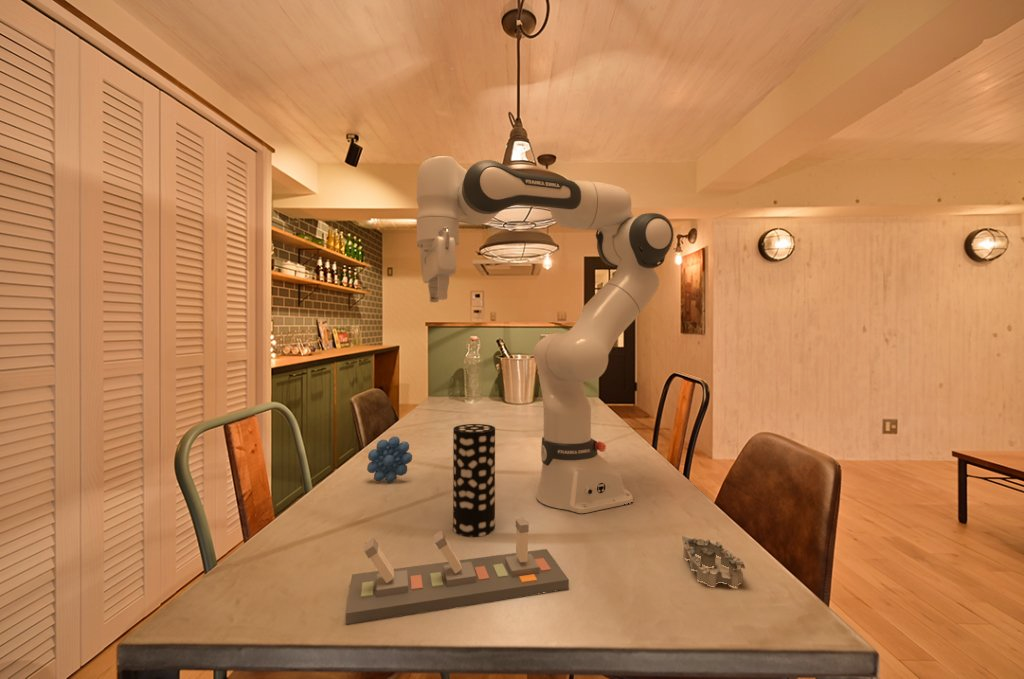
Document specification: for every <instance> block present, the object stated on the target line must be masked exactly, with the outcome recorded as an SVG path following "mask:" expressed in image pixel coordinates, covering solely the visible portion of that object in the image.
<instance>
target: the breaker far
mask: <svg viewBox="0 0 1024 679" xmlns="http://www.w3.org/2000/svg"><path fill="white" fill-rule="evenodd" d="M363 552H364V553H365V554H366V556H367V558H368V559H370V560H371V562H372V563H373V565H374V566H375V568H376V569H377V570H376V571H379V573H380V574H381V576H382V577H383V579H384V580H385V582H386V583H388V582H389V581H391V580H392V579H394V569H395V568H393V566H392V565H391V564H390V561H389V560H388V559H387V557H386V556H385V554H384V553H383V551H382V550H381V548H380V546H379V543H378V541H377V540H376V539H375V537H373V538H371V539H370V540H368V541H366V542H365V544H364V550H363Z"/></svg>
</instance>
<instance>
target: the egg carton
mask: <svg viewBox="0 0 1024 679" xmlns="http://www.w3.org/2000/svg"><path fill="white" fill-rule="evenodd" d="M681 538H682V544H683V558H684V557H685V558H686V559H690V562H689V568H690V567H691V569H694V570H697V573H696V580H697V579H698V580H699V581H703V582H705V583H707V584H708V585H710V586H716V587H717V585H716V583H718V582H724V583H727V584H729V585H731V586H734V587H735V586H736V587H738V588H739V586H738V584H739V583H742V584H743V578H744V577H743V576H744V574H743V571H742V570H745V569H746V566H745V564H744V562H743V561H742V560H741V558H739V557H736V556H735V555H733V552H731V551H730V550H727V549H726V548H724V547H723V544H722V543H720V542H719V541H716V542H715V543H713V542H711V540H710V539H707V540H704V539H703V538H702V539H701V538H699V539H698V538H695V537H693V538H691V537H689V538H688V537H685V536H684V535H682V537H681ZM695 554H697V555H699V556H701V559H700V558H698V557H696V556H695ZM716 555H717V556H719V557H721V559H720V565H721V564H722V565H724V566H726V567H729V570H728V572H724V571H720V570H718V571H717V572H716V571H715V573H716V574H712V573H710V572H711V569H707V568H704V567H702V564H703V565H705V566H708V567H712V566H715V567H716V559H717V558H716Z"/></svg>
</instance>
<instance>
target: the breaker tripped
mask: <svg viewBox="0 0 1024 679" xmlns="http://www.w3.org/2000/svg"><path fill="white" fill-rule="evenodd" d="M529 526H530V525H529V523H528V522H527V520H526V519H525V517H520V518H515V528H516V529H515V534H516V535H515V538H516V539H515V540H516V541H515V542H516V543H515V545H516V546H515V553H516V556H517V557H518V559H519V561H520V562H527V561H528V551H529V550H528V549H529V547H528V545H529V541H528V539H529V538H528V536H529V532H530V531H529V530H530V529H529V528H530V527H529Z"/></svg>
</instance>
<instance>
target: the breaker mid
mask: <svg viewBox="0 0 1024 679" xmlns="http://www.w3.org/2000/svg"><path fill="white" fill-rule="evenodd" d="M433 540H434V544H435V545H436V547H437V548H438V550H440V552H441V553H442V555H443V557H444V558H445V560H446V562H448V563H449V565H450V566H451V568H452V569H453V571H454V573H455V574H456V573H457V572H459V571H460V570H461V569H462V567H461V564H460V561H459V560H460V558H458V556H457V554H456V553H455V551H454V549H453V548H452V546H451V545H450V542H448V540H447V538H446V536H445V533H444V532H443V531H442V530H440V531H438V532H437V533H435V534H434V535H433Z"/></svg>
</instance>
